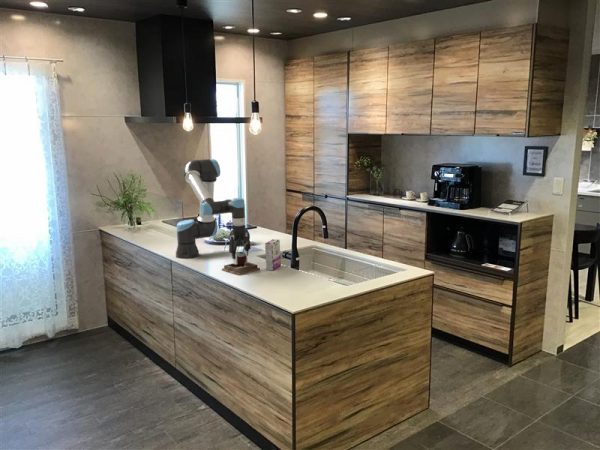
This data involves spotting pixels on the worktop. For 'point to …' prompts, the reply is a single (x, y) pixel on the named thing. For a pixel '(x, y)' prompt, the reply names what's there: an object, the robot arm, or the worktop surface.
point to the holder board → (240, 268)
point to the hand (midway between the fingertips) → (240, 262)
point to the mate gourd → (241, 258)
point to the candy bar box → (272, 254)
